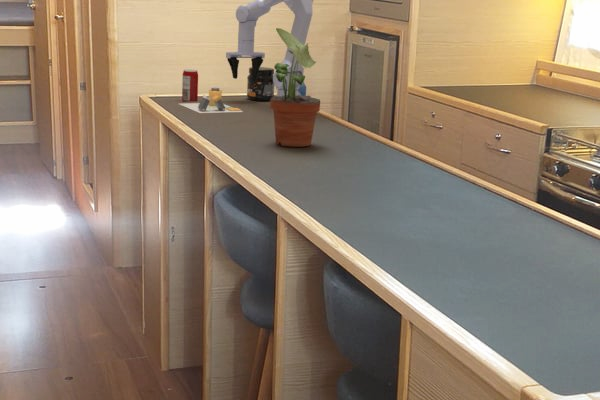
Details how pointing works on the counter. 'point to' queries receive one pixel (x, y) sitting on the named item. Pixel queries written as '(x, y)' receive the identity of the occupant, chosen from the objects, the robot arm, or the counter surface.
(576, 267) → the counter surface
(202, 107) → the breaker
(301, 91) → the perfume bottle
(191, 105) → the panel
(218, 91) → the cap
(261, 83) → the supplement container
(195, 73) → the soda can
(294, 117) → the potted plant
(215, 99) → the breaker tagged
